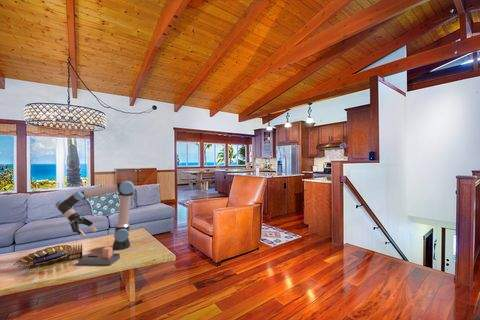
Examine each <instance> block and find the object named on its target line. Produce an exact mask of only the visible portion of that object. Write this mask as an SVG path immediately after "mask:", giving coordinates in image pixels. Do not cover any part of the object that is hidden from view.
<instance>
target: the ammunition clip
mask: <svg viewBox="0 0 480 320" xmlns="http://www.w3.org/2000/svg"><path fill="white" fill-rule="evenodd" d="M82 257H83V244H82V243H80V244H78V245H77V244H75V245H74V244H73V246H72V245H70V246H69V245H67V250H66V262H70V261H74V260H79V259H81V258H82Z"/></svg>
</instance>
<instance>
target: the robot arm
mask: <svg viewBox="0 0 480 320" xmlns="http://www.w3.org/2000/svg"><path fill="white" fill-rule="evenodd" d="M134 190H135V185H134V183H133V182H132V181H131V180H128V179H125V180H123V181H119V182H115V183H114V184H110V185H107V186H101V187H96V188H91V189H88V190H87V189H86V190H82V191H79V190H77V191H75V192H74V193H73V194H71V195H70V196H69V197H68V198H66V199H60V200H59V201H57V202H56V203H55V207H56V209H57V210H58V211H59V212H60V213H61V214H62V215H63V216H64V217H65V218H66V219H67V220H68V221H69V222H68V224H69V225H70V227H71V231H72V232H73V233H75V234H78V235H79V236H80V237H81V238H84V237H86V234H85V232H83V231H82V229H80V228H79V226H80V225H85V226H88V227H89V228H90V230H91V231H92V232H93V233H95V232H97V231H98V229H97V228H96V227H95V225H93V224H94V222H93V221H91V220H89V219H87V218H86V217H84V216H82V217H80V216H81V215H80V214H79V213H78V212H77V210H75V209H74V208H73V206H75V205H76V204H78V203H79V202H80V201H83V200H86V199H87V200H88V199H92V198H96V197H101V196H104V195H109V194H114V193H118V197H120V198H119V205H118V206H119V207H118V216H117V222H116V223H115V224H114V235H113V237H114V241H113V244H112V246H111V247H113V251H115V250H116V251H119V250H120V251H121V250H126V249H128V248H130V247H131V242H130V239H129V238H130V227H131V225H130V224H129V219H130V209H131V201H132V200H131V199H132V197H133V196H134ZM125 248H126V249H125Z"/></svg>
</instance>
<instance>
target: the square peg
mask: <svg viewBox="0 0 480 320" xmlns="http://www.w3.org/2000/svg"><path fill="white" fill-rule="evenodd" d="M113 251H114V249H113V247H112V246H106V247H103V248H102V253H103V258H110V257H111V256H112V254H113Z"/></svg>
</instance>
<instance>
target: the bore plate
mask: <svg viewBox="0 0 480 320" xmlns="http://www.w3.org/2000/svg"><path fill="white" fill-rule="evenodd" d="M119 259H121V254H120V253H112V256H111V257H110V258H103V252H102V253H100V252H99V253H96V252H95V253H93V252H91V253H87V254H86V255H85V256H82V258H80V259H77V265H78V266H112V265H113V264H114V263H116V262H117V261H118V260H119Z"/></svg>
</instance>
